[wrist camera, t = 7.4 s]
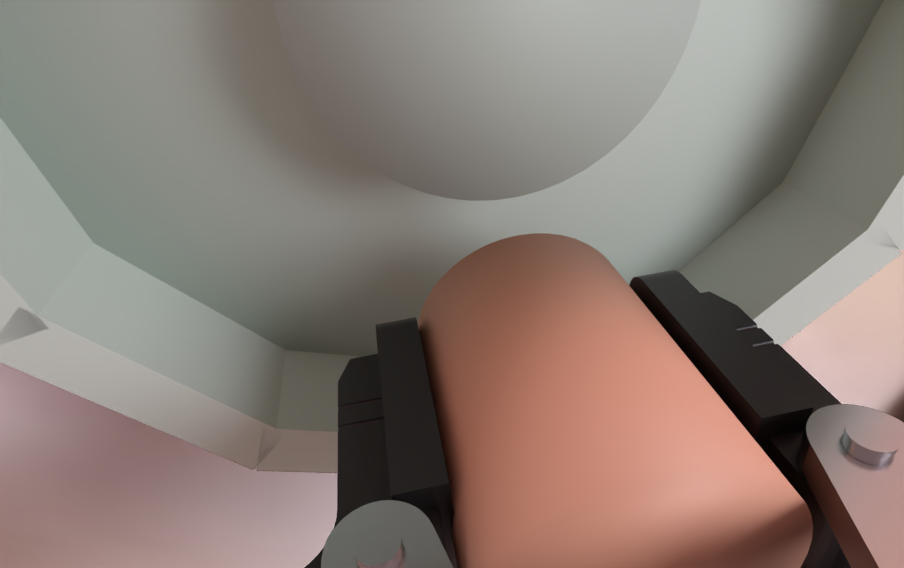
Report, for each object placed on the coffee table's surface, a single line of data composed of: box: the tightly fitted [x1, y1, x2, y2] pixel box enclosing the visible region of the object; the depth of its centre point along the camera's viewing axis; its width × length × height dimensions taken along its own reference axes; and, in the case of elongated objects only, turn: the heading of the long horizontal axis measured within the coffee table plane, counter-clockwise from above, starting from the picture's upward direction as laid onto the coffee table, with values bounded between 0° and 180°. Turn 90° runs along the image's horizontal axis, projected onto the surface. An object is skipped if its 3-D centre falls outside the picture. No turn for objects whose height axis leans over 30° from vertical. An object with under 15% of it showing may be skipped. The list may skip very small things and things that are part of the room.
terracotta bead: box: [418, 233, 813, 568], centre depth 8 cm, size 4×4×5 cm
